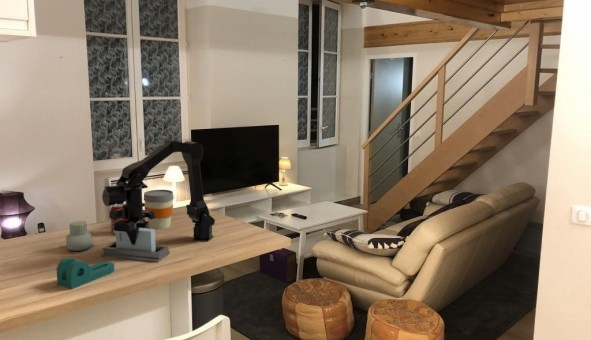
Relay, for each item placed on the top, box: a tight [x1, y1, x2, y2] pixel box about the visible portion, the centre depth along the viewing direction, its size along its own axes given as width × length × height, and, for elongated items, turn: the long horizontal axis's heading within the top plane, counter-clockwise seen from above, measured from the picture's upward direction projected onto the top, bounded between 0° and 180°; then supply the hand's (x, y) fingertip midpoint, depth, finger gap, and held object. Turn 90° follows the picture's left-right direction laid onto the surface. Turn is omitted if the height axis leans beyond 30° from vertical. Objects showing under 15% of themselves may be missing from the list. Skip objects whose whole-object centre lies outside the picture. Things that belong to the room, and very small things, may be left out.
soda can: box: [109, 202, 128, 235], centre depth 203 cm, size 7×7×12 cm
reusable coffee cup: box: [143, 189, 175, 230], centre depth 213 cm, size 13×13×15 cm
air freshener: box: [65, 220, 93, 252], centre depth 184 cm, size 11×8×10 cm
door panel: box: [114, 227, 156, 252], centre depth 178 cm, size 14×3×8 cm, turn 78°
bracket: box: [56, 257, 115, 290], centre depth 158 cm, size 18×7×8 cm, turn 151°
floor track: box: [101, 240, 171, 263], centre depth 179 cm, size 22×9×3 cm, turn 78°
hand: (135, 243), depth 178 cm, fingers closed on door panel, 3 cm apart
